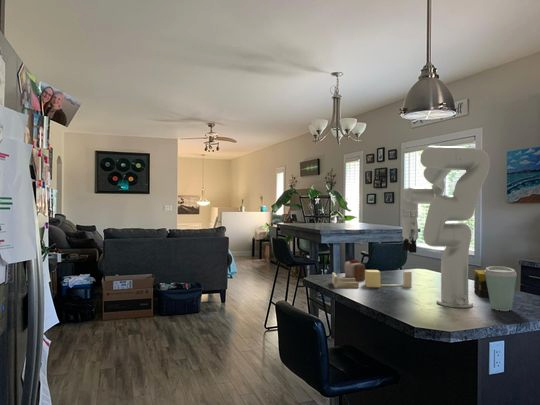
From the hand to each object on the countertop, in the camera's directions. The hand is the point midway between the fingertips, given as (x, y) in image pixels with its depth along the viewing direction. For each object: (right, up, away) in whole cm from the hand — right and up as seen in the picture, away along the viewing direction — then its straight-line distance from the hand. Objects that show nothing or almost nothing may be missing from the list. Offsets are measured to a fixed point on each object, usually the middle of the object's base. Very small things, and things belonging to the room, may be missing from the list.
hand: (409, 251), depth 187 cm
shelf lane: (-30, -16, +2) cm, 34 cm away
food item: (-21, -17, +20) cm, 34 cm away
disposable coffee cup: (+19, -16, -40) cm, 47 cm away
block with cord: (-10, -16, +1) cm, 19 cm away
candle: (+28, -17, -17) cm, 37 cm away
